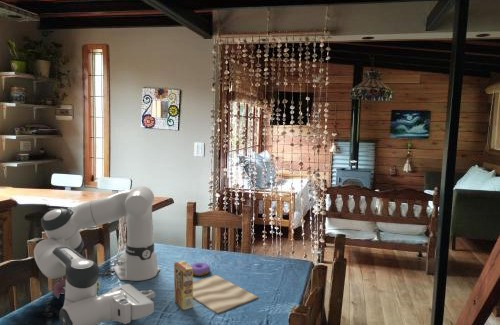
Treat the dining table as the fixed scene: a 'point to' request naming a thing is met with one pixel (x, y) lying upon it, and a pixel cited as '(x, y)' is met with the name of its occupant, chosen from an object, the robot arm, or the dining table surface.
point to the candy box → (183, 285)
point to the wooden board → (220, 294)
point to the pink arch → (59, 287)
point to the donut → (200, 269)
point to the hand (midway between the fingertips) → (153, 293)
